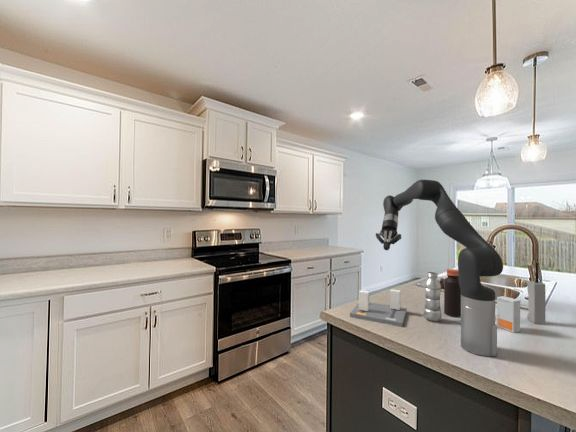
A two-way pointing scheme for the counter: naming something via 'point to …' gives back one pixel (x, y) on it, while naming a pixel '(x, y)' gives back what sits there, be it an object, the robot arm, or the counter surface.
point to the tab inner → (395, 299)
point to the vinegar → (452, 294)
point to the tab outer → (364, 300)
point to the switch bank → (381, 314)
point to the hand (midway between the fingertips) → (386, 249)
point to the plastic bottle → (432, 297)
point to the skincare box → (508, 313)
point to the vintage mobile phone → (536, 300)
